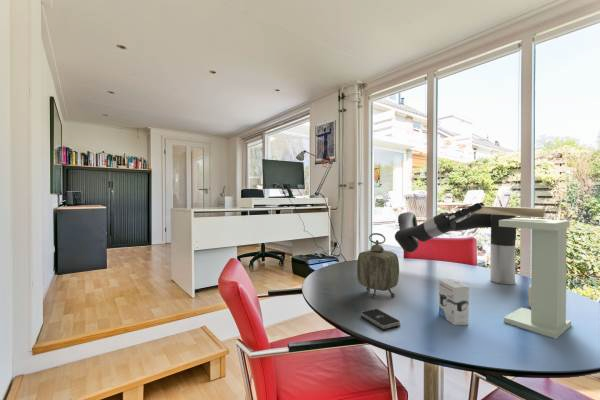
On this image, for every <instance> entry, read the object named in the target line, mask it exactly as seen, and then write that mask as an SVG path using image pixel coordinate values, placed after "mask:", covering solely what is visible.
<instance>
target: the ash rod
mask: <svg viewBox="0 0 600 400" xmlns="http://www.w3.org/2000/svg"><path fill="white" fill-rule="evenodd" d="M472 205H473V204H472ZM472 205H471V204H467V205H466V204H465V205H464V208H466V207H468V208H469V207H470V206H472ZM471 213H472V212H471ZM473 213H481V214H496V215H512V216H515V217H526V218H527V217H529V218H531V217H532V218H545V217H546V208H542V207H540V208H539V207H524V206H523V207H520V206H501V205H498V206H497V205H485V206H482V208H481V209H479V210H477V211H475V212H473Z"/></svg>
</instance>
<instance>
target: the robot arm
mask: <svg viewBox="0 0 600 400" xmlns="http://www.w3.org/2000/svg"><path fill="white" fill-rule="evenodd" d="M482 206H486V205H485V204H484V202H481V201H480V202H477V203H475V204H472V206H470V207H469V208H468V207H466V208H465V207H464V208H460V209H458V210H456V211H452V212H447V211H443V212H440V213H439V214H437V215H435V216H433V217H431V218H429V219H427V220H426V221H425V222H422V223H420V224H418V222H417V216H416V214H415V213H413V212H410V211H408V212H406V211H405V212H402V213H400V214H399V215H398V216H397V221H398V227H399V228H398V230H397V231H396V232H395V234H394V239H395V241H396V242H397V243H398V245H399V246H400V247H401V248H402V250H403V251H404V252H406V253H413V252H415V251H416V250H417V249H418V247H419V242H427V241H429V240H431V239H434V238H436V237H440V236H442V235H444V234H446V233H450V232H460V231H468V230H469V231H470V230H473V229H479V228H490V281H491V282H493V283H496V284H499V285H501V284H502V285H514V284H515V283H516V241H517V228H514V227H501V226H499V220H504V219H512V218H517V216H512V215H496V214H481V213H473V212H475V211H477V210H479V209H481V208H482ZM471 212H472V213H471ZM515 285H516V284H515Z"/></svg>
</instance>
